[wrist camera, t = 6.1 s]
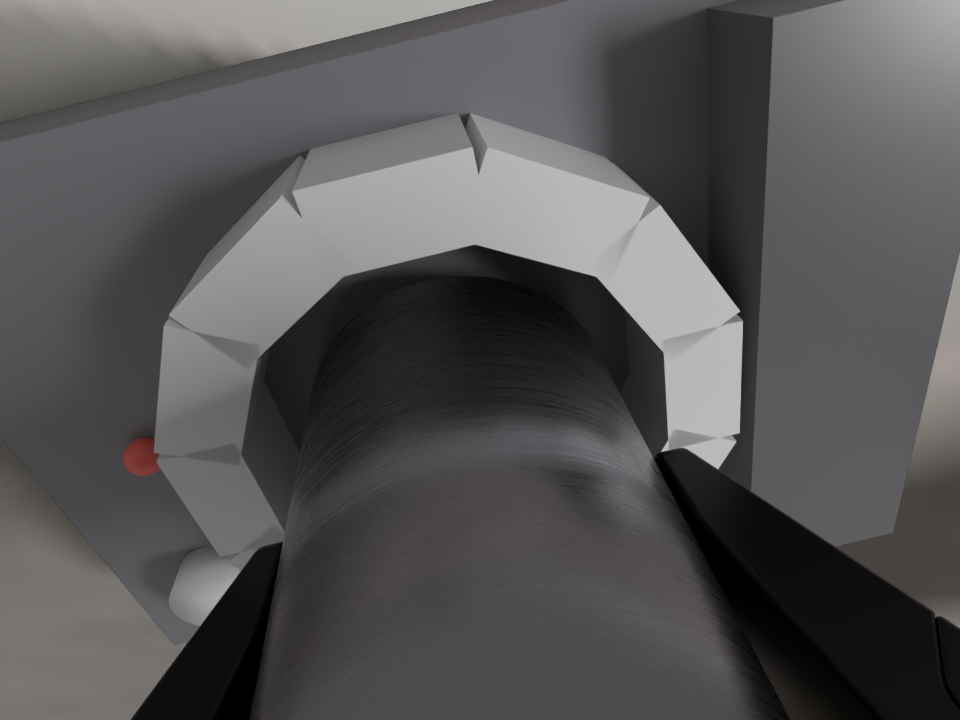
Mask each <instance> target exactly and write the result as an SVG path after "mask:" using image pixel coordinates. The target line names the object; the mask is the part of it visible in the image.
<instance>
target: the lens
mask: <svg viewBox="0 0 960 720" xmlns="http://www.w3.org/2000/svg"><path fill="white" fill-rule="evenodd" d="M249 720H790V718H789V716H788V714H787V712H786V710H785V708H784V706H783V705H782V703H781V701H780V699H779V697H778V695H777V693H776V691H775V689H774V687H773V685H772V684H771V682H770V680H769V678H768V676H767V674H766V672H765V670H764V668H763V666H762V664H761V663H760V661H759V659H758V657H757V655H756V653H755V651H754V649H753V647H752V645H751V643H750V642H749V640H748V638H747V636H746V634H745V632H744V630H743V628H742V626H741V624H740V622H739V620H738V619H737V617H736V615H735V613H734V611H733V609H732V607H731V605H730V603H729V601H728V599H727V598H726V596H725V594H724V592H723V590H722V588H721V586H720V584H719V582H718V580H717V578H716V577H715V575H714V573H713V571H712V569H711V567H710V565H709V563H708V561H707V559H706V557H705V556H704V554H703V552H702V550H701V548H700V546H699V544H698V542H697V540H696V538H695V536H694V535H693V533H692V531H691V529H690V527H689V525H688V523H687V521H686V519H685V517H684V515H683V513H682V512H681V510H680V508H679V506H678V504H677V502H676V500H675V498H674V496H673V494H672V492H671V491H670V489H669V487H668V485H667V483H666V481H665V479H664V477H663V475H662V473H661V471H660V470H659V468H658V466H657V464H656V462H655V460H654V458H653V456H652V454H651V452H650V450H649V449H648V447H647V445H646V443H645V441H644V439H643V437H642V435H641V433H640V431H639V429H638V428H637V426H636V424H635V422H634V420H633V418H632V416H631V414H630V412H629V410H628V408H627V406H626V405H625V403H624V401H623V399H622V397H621V395H620V393H619V391H618V389H617V387H616V385H615V384H614V382H613V380H612V378H611V376H610V374H609V372H608V370H607V368H606V366H605V364H604V363H603V361H602V359H601V357H600V355H599V353H598V351H597V349H596V347H595V345H594V344H593V342H592V340H591V338H590V337H589V335H588V333H587V332H586V330H585V329H584V328H583V327H582V325H581V324H580V323H579V322H578V321H577V319H576V318H575V317H574V316H573V315H572V314H570V313H569V312H568V311H567V310H566V309H565V308H564V307H563V306H561V305H560V304H558V303H557V302H555V301H554V300H552V299H551V298H549V297H548V296H546V295H544V294H542V293H540V292H538V291H536V290H533V289H531V288H529V287H526V286H523V285H520V284H517V283H514V282H511V281H506V280H501V279H496V278H491V277H477V276H458V277H444V278H439V279H433V280H428V281H423V282H420V283H417V284H413V285H410V286H407V287H404V288H401V289H399V290H397V291H395V292H392V293H390V294H388V295H386V296H384V297H382V298H380V299H379V300H377V301H376V302H374V303H372V304H371V305H369V306H367V307H366V308H365V309H363V310H362V311H361V312H360V313H358V314H357V315H356V316H355V317H353V318H352V319H351V320H350V321H349V322H348V323H347V324H346V325H345V326H344V327H343V328H342V329H341V330H340V332H339V333H338V334H337V335H336V337H335V338H334V339H333V341H332V342H331V344H330V345H329V346H328V348H327V349H326V351H325V353H324V355H323V357H322V359H321V361H320V363H319V366H318V369H317V372H316V375H315V379H314V382H313V388H312V393H311V398H310V403H309V409H308V414H307V419H306V424H305V430H304V435H303V440H302V445H301V450H300V456H299V461H298V466H297V471H296V477H295V482H294V487H293V492H292V498H291V503H290V508H289V513H288V519H287V524H286V529H285V534H284V540H283V545H282V550H281V555H280V561H279V566H278V571H277V576H276V582H275V587H274V592H273V597H272V603H271V608H270V613H269V618H268V623H267V629H266V634H265V639H264V644H263V650H262V655H261V660H260V665H259V671H258V676H257V681H256V686H255V692H254V697H253V702H252V707H251V713H250V718H249Z"/></svg>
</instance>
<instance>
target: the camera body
mask: <svg viewBox="0 0 960 720" xmlns="http://www.w3.org/2000/svg"><path fill="white" fill-rule="evenodd" d="M959 252H960V0H494V1H490V2H485V3H481V4H477V5H474V6H469V7H465V8H462V9H458V10H453V11H449V12H445V13H442V14H437V15H434V16H429V17H425V18H422V19H417V20H414V21H409V22H405V23H401V24H397V25H393V26H390V27H385V28H381V29H377V30H373V31H369V32H365V33H361V34H357V35H353V36H349V37H345V38H341V39H337V40H333V41H329V42H325V43H321V44H317V45H313V46H309V47H305V48H301V49H297V50H293V51H289V52H285V53H281V54H277V55H273V56H269V57H265V58H261V59H257V60H253V61H249V62H245V63H241V64H237V65H232V66H228V67H224V68H220V69H216V70H212V71H208V72H204V73H200V74H196V75H192V76H188V77H184V78H180V79H176V80H172V81H168V82H164V83H160V84H156V85H152V86H148V87H144V88H140V89H136V90H132V91H128V92H124V93H120V94H116V95H112V96H108V97H104V98H100V99H96V100H92V101H88V102H84V103H80V104H76V105H72V106H68V107H64V108H60V109H56V110H52V111H48V112H44V113H40V114H36V115H32V116H28V117H24V118H20V119H16V120H12V121H8V122H4V123H0V437H1V438H2V439H3V440H4V442H5V443H6V444H7V445H8V446H9V448H10V449H11V450H12V451H13V452H14V454H15V455H16V456H17V457H18V458H19V460H20V461H21V462H22V463H23V464H24V466H25V467H26V468H27V469H28V470H29V472H30V473H31V474H32V475H33V476H34V478H35V479H36V480H37V481H38V482H39V484H40V485H41V486H42V487H43V488H44V490H45V491H46V492H47V493H48V494H49V496H50V497H51V498H52V499H53V500H54V502H55V503H56V504H57V505H58V506H59V508H60V509H61V510H62V511H63V512H64V514H65V515H66V516H67V517H68V518H69V520H70V521H71V522H72V523H73V524H74V526H75V527H76V528H77V529H78V530H79V532H80V533H81V534H82V535H83V536H84V538H85V539H86V540H87V541H88V542H89V544H90V545H91V546H92V547H93V548H94V550H95V551H96V552H97V553H98V554H99V556H100V557H101V558H102V559H103V560H104V562H105V563H106V564H107V565H108V566H109V568H110V569H111V570H112V571H113V572H114V574H115V575H116V576H117V577H118V578H119V580H120V581H121V582H122V583H123V584H124V586H125V587H126V588H127V589H128V590H129V592H130V593H131V594H132V595H133V596H134V598H135V599H136V600H137V601H138V602H139V604H140V605H141V606H142V607H143V608H144V610H145V611H146V612H147V613H148V614H149V616H150V617H151V618H152V619H153V620H154V622H155V623H156V624H157V625H158V626H159V628H160V629H161V630H162V631H163V632H164V634H165V635H166V636H167V637H168V638H169V640H170V641H171V642H172V643H173V644H174V645H175V644H179V643H183V642H188V641H189V640H190V639H191V638H192V636H193V635H194V634H195V632H196V631H197V630H198V628H199V627H200V625H201V624H202V623H203V621H204V620H205V619H206V617H207V616H208V615H209V613H210V612H211V611H212V609H213V608H214V607H215V605H216V604H217V603H218V601H219V600H220V598H221V597H222V596H223V594H224V593H225V592H226V590H227V589H228V588H229V586H230V585H231V584H232V582H233V581H234V580H235V578H236V577H237V576H238V574H239V573H240V571H241V570H242V569H243V567H244V566H245V565H246V563H247V562H248V561H249V559H250V558H251V557H252V555H253V554H254V553H255V551H256V550H258V549H259V548H260V547H262V546H266V545H270V544H274V543H278V542H283V540H284V534H285V529H286V524H287V519H288V513H289V508H290V503H291V498H292V492H293V487H294V482H295V477H296V471H297V466H298V461H299V456H300V450H301V445H302V440H303V435H304V430H305V424H306V419H307V414H308V409H309V403H310V398H311V393H312V388H313V382H314V379H315V375H316V372H317V369H318V366H319V363H320V361H321V359H322V357H323V355H324V353H325V351H326V349H327V348H328V346H329V345H330V344H331V342H332V341H333V339H334V338H335V337H336V335H337V334H338V333H339V332H340V330H341V329H342V328H343V327H344V326H345V325H346V324H347V323H348V322H349V321H350V320H351V319H352V318H353V317H355V316H356V315H357V314H358V313H360V312H361V311H362V310H363V309H365V308H366V307H367V306H369V305H371V304H372V303H374V302H376V301H377V300H379V299H380V298H382V297H384V296H386V295H388V294H390V293H392V292H395V291H397V290H399V289H401V288H404V287H407V286H410V285H413V284H417V283H420V282H423V281H428V280H433V279H439V278H444V277H458V276H477V277H491V278H496V279H501V280H506V281H511V282H514V283H517V284H520V285H523V286H526V287H529V288H531V289H533V290H536V291H538V292H540V293H542V294H544V295H546V296H548V297H549V298H551V299H552V300H554V301H555V302H557V303H558V304H560V305H561V306H563V307H564V308H565V309H566V310H567V311H568V312H569V313H570V314H572V315H573V316H574V317H575V318H576V319H577V321H578V322H579V323H580V324H581V325H582V327H583V328H584V329H585V330H586V332H587V333H588V335H589V337H590V338H591V340H592V342H593V344H594V345H595V347H596V349H597V351H598V353H599V355H600V357H601V359H602V361H603V363H604V364H605V366H606V368H607V370H608V372H609V374H610V376H611V378H612V380H613V382H614V384H615V385H616V387H617V389H618V391H619V393H620V395H621V397H622V399H623V401H624V403H625V405H626V406H627V408H628V410H629V412H630V414H631V416H632V418H633V420H634V422H635V424H636V426H637V428H638V429H639V431H640V433H641V435H642V437H643V439H644V441H645V443H646V445H647V447H648V449H649V450H650V452H651V454H652V456H653V458H654V457H655V455H656V454H657V453H659V452H663V451H668V450H672V449H676V448H686V449H688V450H690V451H691V452H693V453H694V454H696V455H697V456H699V457H700V458H702V459H703V460H705V461H706V462H708V463H709V464H711V465H712V466H714V467H715V468H717V469H718V470H720V471H722V472H723V473H725V474H726V475H728V476H729V477H731V478H732V479H734V480H735V481H737V482H738V483H740V484H741V485H743V486H744V487H746V488H747V489H749V490H750V491H752V492H753V493H755V494H756V495H758V496H759V497H761V498H762V499H764V500H766V501H767V502H769V503H770V504H772V505H773V506H775V507H776V508H778V509H779V510H781V511H782V512H784V513H785V514H787V515H788V516H790V517H791V518H793V519H794V520H796V521H797V522H799V523H800V524H802V525H803V526H805V527H806V528H808V529H809V530H811V531H813V532H814V533H816V534H817V535H819V536H820V537H822V538H823V539H825V540H826V541H828V542H829V543H831V544H832V545H834V546H835V547H836V546H840V545H845V544H849V543H853V542H857V541H862V540H866V539H870V538H874V537H879V536H883V535H887V534H891V533H893V531H894V527H895V523H896V519H897V514H898V510H899V506H900V502H901V498H902V493H903V489H904V485H905V481H906V476H907V472H908V468H909V464H910V459H911V455H912V451H913V447H914V443H915V438H916V434H917V430H918V426H919V421H920V417H921V413H922V409H923V405H924V400H925V396H926V392H927V388H928V383H929V379H930V375H931V371H932V366H933V362H934V358H935V354H936V350H937V345H938V341H939V337H940V333H941V328H942V324H943V320H944V316H945V312H946V307H947V303H948V299H949V295H950V290H951V286H952V282H953V278H954V273H955V269H956V265H957V261H958V257H959Z"/></svg>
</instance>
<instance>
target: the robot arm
mask: <svg viewBox="0 0 960 720" xmlns="http://www.w3.org/2000/svg"><path fill="white" fill-rule="evenodd" d="M654 460H655V462H656V464H657V466H658V468H659V470H660V471H661V473H662V475H663V477H664V479H665V481H666V483H667V485H668V487H669V489H670V491H671V492H672V494H673V496H674V498H675V500H676V502H677V504H678V506H679V508H680V510H681V512H682V513H683V515H684V517H685V519H686V521H687V523H688V525H689V527H690V529H691V531H692V533H693V535H694V536H695V538H696V540H697V542H698V544H699V546H700V548H701V550H702V552H703V554H704V556H705V557H706V559H707V561H708V563H709V565H710V567H711V569H712V571H713V573H714V575H715V577H716V578H717V580H718V582H719V584H720V586H721V588H722V590H723V592H724V594H725V596H726V598H727V599H728V601H729V603H730V605H731V607H732V609H733V611H734V613H735V615H736V617H737V619H738V620H739V622H740V624H741V626H742V628H743V630H744V632H745V634H746V636H747V638H748V640H749V642H750V643H751V645H752V647H753V649H754V651H755V653H756V655H757V657H758V659H759V661H760V663H761V664H762V666H763V668H764V670H765V672H766V674H767V676H768V678H769V680H770V682H771V684H772V685H773V687H774V689H775V691H776V693H777V695H778V697H779V699H780V701H781V703H782V705H783V706H784V708H785V710H786V712H787V714H788V716H789V718H790V720H960V628H959V627H957V626H956V625H954V624H953V623H951V622H949V621H948V620H946V619H945V618H943V617H941V616H938V617H936V618H935V614H934V612H933V611H932V610H931V609H929V608H928V607H926V606H925V605H923V604H922V603H920V602H919V601H917V600H916V599H914V598H913V597H911V596H910V595H908V594H907V593H905V592H903V591H902V590H900V589H899V588H897V587H896V586H894V585H893V584H891V583H890V582H888V581H887V580H885V579H884V578H882V577H881V576H879V575H878V574H876V573H875V572H873V571H872V570H870V569H869V568H867V567H866V566H864V565H863V564H861V563H860V562H858V561H856V560H855V559H853V558H852V557H850V556H849V555H847V554H846V553H844V552H843V551H841V550H840V549H838V548H837V547H835V546H834V545H832V544H831V543H829V542H828V541H826V540H825V539H823V538H822V537H820V536H819V535H817V534H816V533H814V532H813V531H811V530H809V529H808V528H806V527H805V526H803V525H802V524H800V523H799V522H797V521H796V520H794V519H793V518H791V517H790V516H788V515H787V514H785V513H784V512H782V511H781V510H779V509H778V508H776V507H775V506H773V505H772V504H770V503H769V502H767V501H766V500H764V499H762V498H761V497H759V496H758V495H756V494H755V493H753V492H752V491H750V490H749V489H747V488H746V487H744V486H743V485H741V484H740V483H738V482H737V481H735V480H734V479H732V478H731V477H729V476H728V475H726V474H725V473H723V472H722V471H720V470H718V469H717V468H715V467H714V466H712V465H711V464H709V463H708V462H706V461H705V460H703V459H702V458H700V457H699V456H697V455H696V454H694V453H693V452H691V451H690V450H688V449H686V448H676V449H672V450H668V451H663V452H659V453H657V454H656V455H655V457H654ZM282 545H283V542H278V543H274V544H270V545H266V546H262V547H260V548H259V549H258V550H256V551H255V553H254V554H253V555H252V557H251V558H250V559H249V561H248V562H247V563H246V565H245V566H244V567H243V569H242V570H241V571H240V573H239V574H238V576H237V577H236V578H235V580H234V581H233V582H232V584H231V585H230V586H229V588H228V589H227V590H226V592H225V593H224V594H223V596H222V597H221V598H220V600H219V601H218V603H217V604H216V605H215V607H214V608H213V609H212V611H211V612H210V613H209V615H208V616H207V617H206V619H205V620H204V621H203V623H202V624H201V625H200V627H199V628H198V630H197V631H196V632H195V634H194V635H193V636H192V638H191V639H190V640H189V642H188V643H187V644H186V646H185V647H184V648H183V650H182V651H181V652H180V654H179V655H178V657H177V658H176V659H175V661H174V662H173V663H172V665H171V666H170V667H169V669H168V670H167V671H166V673H165V674H164V675H163V677H162V678H161V680H160V681H159V682H158V684H157V685H156V686H155V688H154V689H153V690H152V692H151V693H150V694H149V696H148V697H147V698H146V700H145V701H144V702H143V704H142V705H141V707H140V708H139V709H138V711H137V712H136V713H135V715H134V716H133V717H132V719H131V720H249V718H250V713H251V707H252V702H253V697H254V692H255V686H256V681H257V676H258V671H259V665H260V660H261V655H262V650H263V644H264V639H265V634H266V629H267V623H268V618H269V613H270V608H271V603H272V597H273V592H274V587H275V582H276V576H277V571H278V566H279V561H280V555H281V550H282Z"/></svg>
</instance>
